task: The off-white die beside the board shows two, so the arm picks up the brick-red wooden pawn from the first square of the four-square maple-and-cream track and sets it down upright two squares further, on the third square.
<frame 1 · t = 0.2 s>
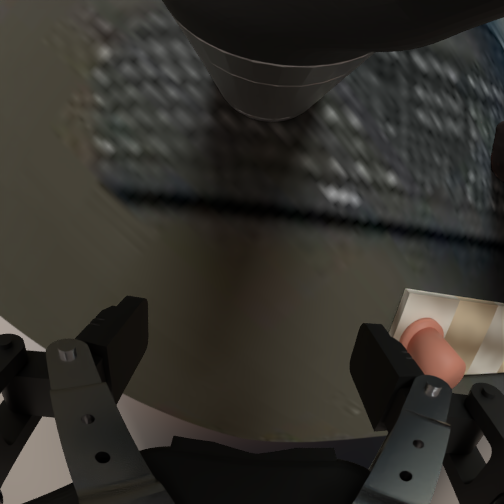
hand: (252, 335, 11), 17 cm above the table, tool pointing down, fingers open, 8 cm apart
board: (477, 337, 31), on the table
pawn: (419, 338, 30), point 1 cm above the table, touching board
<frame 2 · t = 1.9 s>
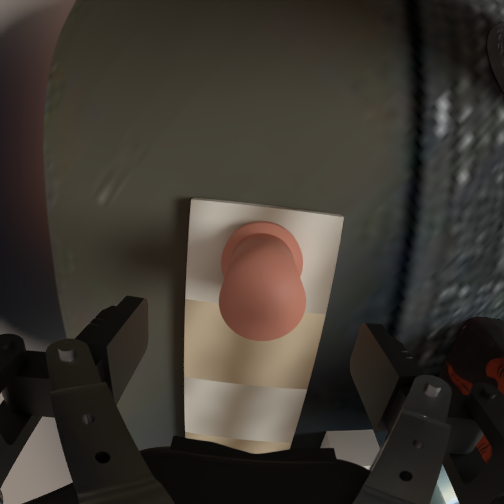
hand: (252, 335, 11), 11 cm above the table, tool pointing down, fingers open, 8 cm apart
board: (246, 376, 25), on the table
pawn: (262, 259, 21), point 1 cm above the table, touching board
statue: (472, 351, 25), on the table
die: (343, 445, 28), on the table
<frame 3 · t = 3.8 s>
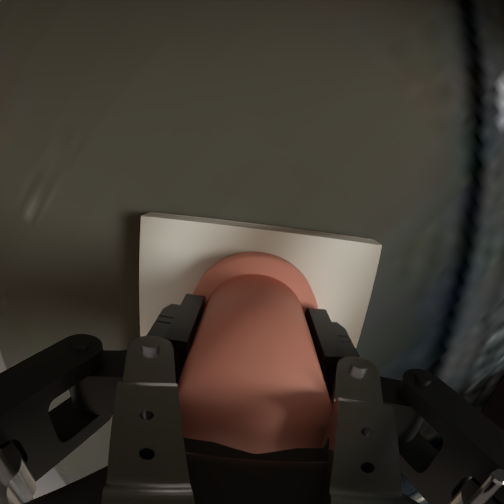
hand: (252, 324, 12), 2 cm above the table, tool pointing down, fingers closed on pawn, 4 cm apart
board: (232, 447, 17), on the table
pawn: (253, 311, 13), point 1 cm above the table, touching board, gripper
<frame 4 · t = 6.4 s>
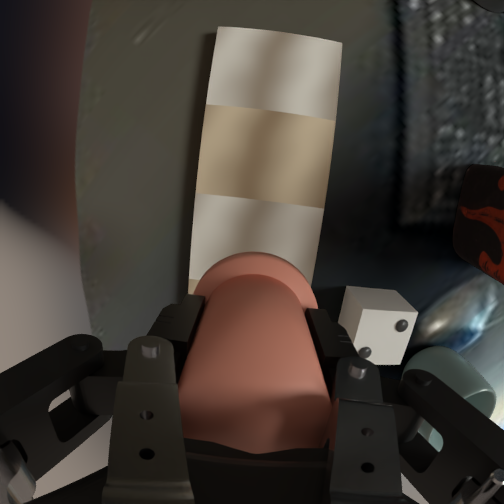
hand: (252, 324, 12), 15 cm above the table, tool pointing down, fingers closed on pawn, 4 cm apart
board: (260, 198, 25), on the table
cup: (422, 364, 30), on the table
pawn: (253, 311, 13), point 13 cm above the table, touching gripper
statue: (481, 205, 25), on the table
die: (365, 312, 28), on the table
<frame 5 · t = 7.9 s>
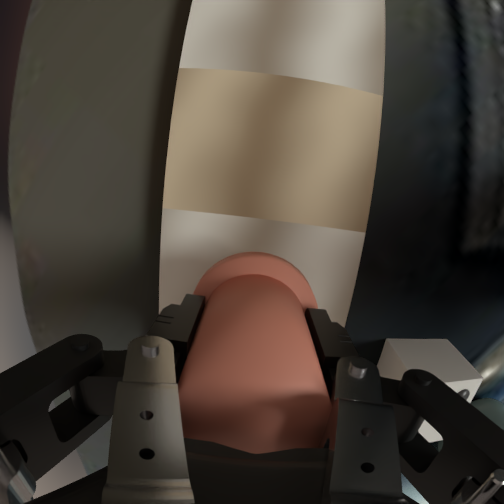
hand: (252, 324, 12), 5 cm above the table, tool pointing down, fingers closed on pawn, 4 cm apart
board: (265, 215, 16), on the table
cup: (462, 417, 21), on the table
pawn: (253, 311, 13), point 4 cm above the table, touching gripper
die: (406, 369, 19), on the table
when the fingers open (4 cm above the table, at t = 9.0 s): pawn drops 1 cm, resting on board.
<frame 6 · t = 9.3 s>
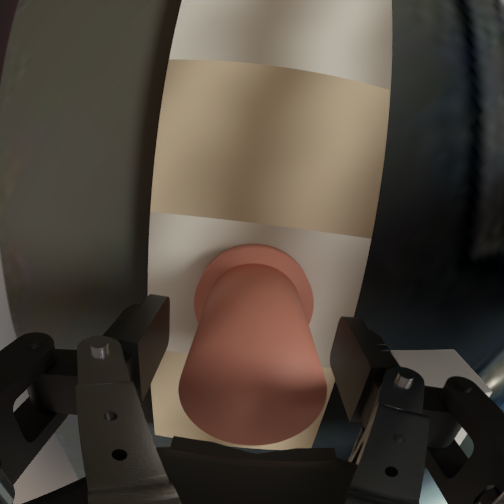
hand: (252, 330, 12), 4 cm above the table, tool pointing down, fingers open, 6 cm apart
board: (262, 219, 15), on the table
pawn: (253, 298, 15), point 1 cm above the table, touching board
die: (411, 381, 18), on the table
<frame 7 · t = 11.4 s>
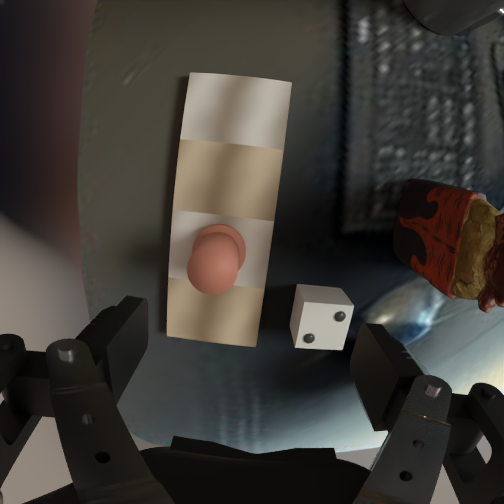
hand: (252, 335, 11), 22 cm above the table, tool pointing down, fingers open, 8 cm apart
board: (223, 213, 32), on the table
pawn: (219, 249, 32), point 1 cm above the table, touching board
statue: (422, 214, 32), on the table
die: (314, 306, 35), on the table
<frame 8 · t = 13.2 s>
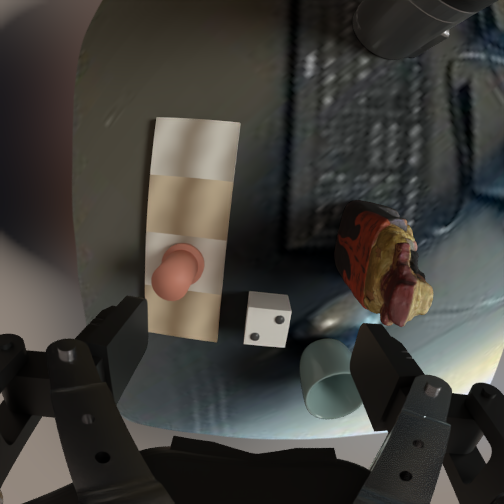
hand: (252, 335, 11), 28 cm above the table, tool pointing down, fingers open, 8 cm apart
board: (187, 233, 39), on the table
cup: (322, 352, 44), on the table
pawn: (183, 263, 39), point 1 cm above the table, touching board
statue: (363, 231, 39), on the table
die: (266, 310, 42), on the table
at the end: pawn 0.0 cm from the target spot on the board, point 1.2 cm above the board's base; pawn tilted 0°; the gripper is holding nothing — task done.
